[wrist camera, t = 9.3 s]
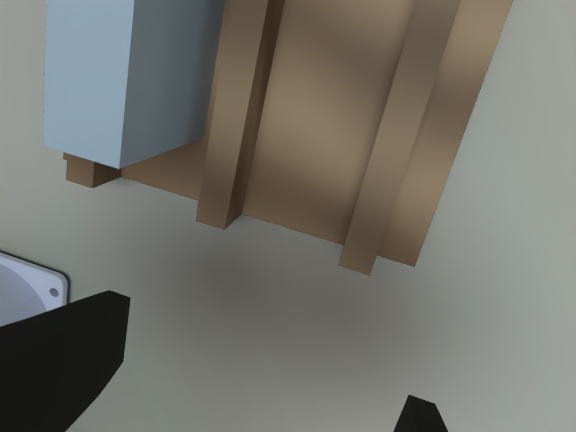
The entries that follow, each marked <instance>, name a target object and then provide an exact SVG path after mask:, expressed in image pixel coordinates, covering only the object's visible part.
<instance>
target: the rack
mask: <svg viewBox="0 0 576 432" xmlns="http://www.w3.org/2000/svg"><path fill="white" fill-rule="evenodd" d="M512 2H513V0H226V1H225V7H224V13H223V19H222V26H221V32H220V38H219V45H218V51H217V57H216V64H215V70H214V76H213V82H212V89H211V95H210V101H209V108H208V114H207V120H206V126H205V133H204V138H201V139H198V140H196V141H193V142H190V143H188V144H185V145H182V146H180V147H177V148H174V149H172V150H169V151H166V152H163V153H161V154H158V155H155V156H153V157H150V158H147V159H145V160H142V161H139V162H136V163H134V164H131V165H128V166H126V167H123V168H120V169H117V168H114V167H111V166H108V165H104V164H101V163H98V162H94V161H91V160H88V159H85V158H81V157H78V156H75V155H71V154H68V153H65V152H64V155H63V159H65V160H67V171H66V180H68V181H71V182H74V183H77V184H81V185H84V186H87V187H90V188H94V187H97V186H99V185H102V184H104V183H107V182H109V181H112V180H114V179H117V178H119V177H123V178H127V179H130V180H133V181H136V182H140V183H143V184H146V185H149V186H153V187H156V188H159V189H163V190H166V191H169V192H172V193H176V194H179V195H182V196H185V197H189V198H192V199H195V200H198V201H199V204H198V210H197V216H196V221H198V222H201V223H205V224H208V225H211V226H214V227H217V228H221V229H224V230H225V229H226V228H227V227H228V226H229V225H230V224H231V223H232V222H233V221H234V220H236V219H237V218H238V217H239V216H240V215H241V214H244V215H247V216H250V217H254V218H257V219H260V220H263V221H267V222H270V223H273V224H276V225H280V226H283V227H286V228H289V229H293V230H296V231H299V232H303V233H306V234H309V235H312V236H316V237H319V238H322V239H325V240H329V241H332V242H335V243H338V244H342V245H344V247H343V250H342V254H341V257H340V260H339V264H338V266H341V267H345V268H348V269H351V270H354V271H357V272H360V273H364V274H367V275H370V273H371V270H372V267H373V264H374V261H375V258H376V255H377V256H381V257H384V258H387V259H390V260H394V261H397V262H400V263H403V264H407V265H410V266H413V267H415V264H416V261H417V259H418V256H419V253H420V251H421V248H422V245H423V242H424V240H425V237H426V234H427V232H428V229H429V226H430V224H431V221H432V218H433V215H434V213H435V210H436V207H437V205H438V202H439V199H440V197H441V194H442V191H443V189H444V186H445V183H446V180H447V178H448V175H449V172H450V170H451V167H452V164H453V162H454V159H455V156H456V153H457V151H458V148H459V145H460V143H461V140H462V137H463V135H464V132H465V129H466V126H467V124H468V121H469V118H470V116H471V113H472V110H473V108H474V105H475V102H476V99H477V97H478V94H479V91H480V89H481V86H482V83H483V81H484V78H485V75H486V72H487V70H488V67H489V64H490V62H491V59H492V56H493V54H494V51H495V48H496V45H497V43H498V40H499V37H500V35H501V32H502V29H503V27H504V24H505V21H506V18H507V16H508V13H509V10H510V8H511V5H512Z"/></svg>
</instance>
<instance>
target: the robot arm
mask: <svg viewBox="0 0 576 432" xmlns="http://www.w3.org/2000/svg"><path fill="white" fill-rule="evenodd" d="M67 285H68V284H67V280H66V278H65V277H64V276H63V275H62V274H60V273H58V272H55V271H52V270H49V269H46V268H44V267H41V266H38V265H35V264H32V263H29V262H26V261H24V260H21V259H18V258H15V257H12V256H9V255H6V254H3V253H1V252H0V432H65V431H66V430H67V429H68V428H69V427H70V426H71V425H72V424H73V423H74V422H75V421H76V420H77V419H78V417H79V416H80V415H81V414H82V413H83V412H84V411H85V410H86V409H87V408H88V407H89V406H90V404H91V403H92V402H93V401H94V400H95V399H96V398H97V397H98V396H99V394H100V393H101V392H102V390H103V389H104V388H105V386H106V385H107V384H108V382H109V381H110V380H111V378H112V377H113V375H114V374H115V373H116V371H117V370H118V368H119V367H120V365H121V364H122V363H123V359H124V350H125V341H126V333H127V324H128V315H129V306H130V297H127V296H124V295H121V294H118V293H116V292H113V291H110V290H109V291H105V292H102V293H99V294H95V295H93V296H90V297H87V298H84V299H81V300H78V301H75V302H72V303H70V304H67ZM55 289H56V290H57V291H58V292H57V291H56V290H55ZM66 304H67V305H66ZM394 432H448V430H447V428H446V426H445V424H444V422H443V420H442V417H441V415H440V413H439V411H438V409H437V407H436V405H435V404H434V403H431V402H428V401H425V400H423V399H420V398H417V397H414V396H411V395H408V398H407V400H406V403H405V405H404V407H403V410H402V412H401V415H400V417H399V419H398V422H397V424H396V427H395V429H394Z"/></svg>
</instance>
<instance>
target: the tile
mask: <svg viewBox="0 0 576 432" xmlns="http://www.w3.org/2000/svg"><path fill="white" fill-rule="evenodd" d="M225 1H226V0H47V15H46V51H45V87H44V124H43V146H45V147H49V148H52V149H55V150H58V151H62V152H65V153H68V154H71V155H75V156H78V157H81V158H85V159H88V160H91V161H94V162H98V163H101V164H104V165H108V166H111V167H114V168H117V169H120V168H123V167H126V166H128V165H131V164H134V163H136V162H139V161H142V160H145V159H147V158H150V157H153V156H155V155H158V154H161V153H163V152H166V151H169V150H172V149H174V148H177V147H180V146H182V145H185V144H188V143H190V142H193V141H196V140H198V139H201V138H204V133H205V126H206V120H207V114H208V108H209V101H210V95H211V89H212V82H213V76H214V70H215V64H216V57H217V51H218V45H219V38H220V32H221V26H222V19H223V13H224V7H225Z"/></svg>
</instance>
